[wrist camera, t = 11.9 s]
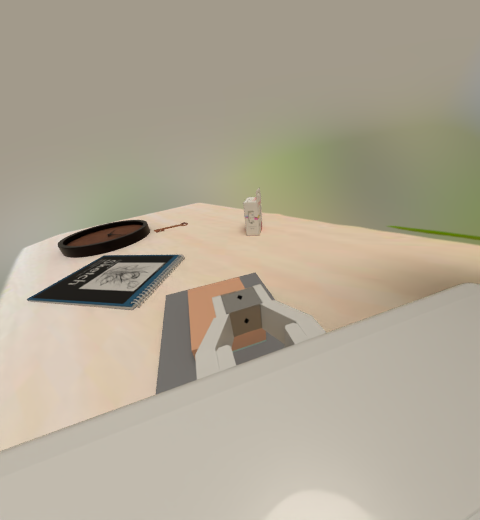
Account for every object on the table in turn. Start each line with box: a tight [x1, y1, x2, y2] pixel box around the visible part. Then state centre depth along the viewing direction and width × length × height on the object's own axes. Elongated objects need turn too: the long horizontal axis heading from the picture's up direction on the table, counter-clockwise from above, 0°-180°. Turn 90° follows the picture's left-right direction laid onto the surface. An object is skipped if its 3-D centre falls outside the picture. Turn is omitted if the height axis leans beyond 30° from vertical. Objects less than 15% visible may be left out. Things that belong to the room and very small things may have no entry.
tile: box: [188, 277, 266, 361], centre depth 30 cm, size 10×3×13 cm
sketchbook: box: [27, 255, 185, 310], centre depth 48 cm, size 22×30×2 cm
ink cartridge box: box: [243, 189, 262, 236], centre depth 63 cm, size 9×5×15 cm, turn 167°
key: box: [154, 222, 187, 233], centre depth 82 cm, size 6×1×15 cm
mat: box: [156, 273, 285, 394], centre depth 30 cm, size 20×22×1 cm
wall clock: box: [58, 220, 150, 258], centre depth 75 cm, size 31×4×31 cm
